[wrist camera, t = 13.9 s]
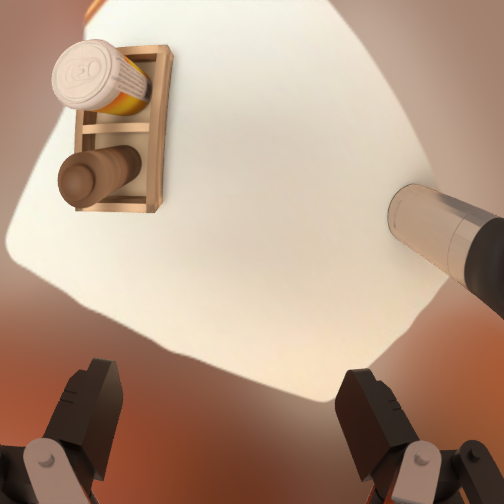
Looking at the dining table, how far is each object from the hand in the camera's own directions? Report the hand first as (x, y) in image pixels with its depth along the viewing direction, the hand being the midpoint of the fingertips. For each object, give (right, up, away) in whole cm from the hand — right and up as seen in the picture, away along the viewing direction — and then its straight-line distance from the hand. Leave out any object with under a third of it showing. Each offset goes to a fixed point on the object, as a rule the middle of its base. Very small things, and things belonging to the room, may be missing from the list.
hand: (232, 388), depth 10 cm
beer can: (-14, +24, +21) cm, 35 cm away
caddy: (-15, +20, +23) cm, 34 cm away
